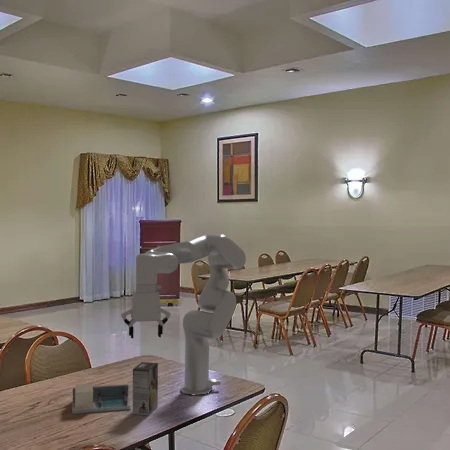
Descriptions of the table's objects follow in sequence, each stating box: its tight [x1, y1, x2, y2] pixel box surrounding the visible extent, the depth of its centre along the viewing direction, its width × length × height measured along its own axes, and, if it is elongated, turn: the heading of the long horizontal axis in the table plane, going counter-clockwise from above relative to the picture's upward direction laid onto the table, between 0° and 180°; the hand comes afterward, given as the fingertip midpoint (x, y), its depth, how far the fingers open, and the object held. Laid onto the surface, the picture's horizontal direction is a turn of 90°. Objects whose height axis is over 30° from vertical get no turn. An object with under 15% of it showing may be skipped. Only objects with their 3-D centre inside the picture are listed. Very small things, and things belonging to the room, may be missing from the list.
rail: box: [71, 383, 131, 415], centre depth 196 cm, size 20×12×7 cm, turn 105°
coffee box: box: [132, 361, 159, 417], centre depth 191 cm, size 9×6×16 cm
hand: (145, 337), depth 191 cm, fingers open, 9 cm apart
